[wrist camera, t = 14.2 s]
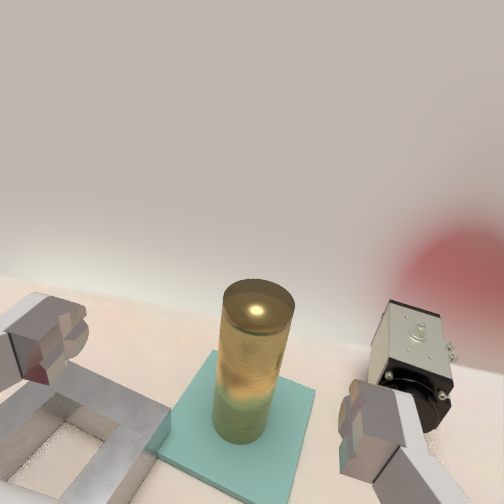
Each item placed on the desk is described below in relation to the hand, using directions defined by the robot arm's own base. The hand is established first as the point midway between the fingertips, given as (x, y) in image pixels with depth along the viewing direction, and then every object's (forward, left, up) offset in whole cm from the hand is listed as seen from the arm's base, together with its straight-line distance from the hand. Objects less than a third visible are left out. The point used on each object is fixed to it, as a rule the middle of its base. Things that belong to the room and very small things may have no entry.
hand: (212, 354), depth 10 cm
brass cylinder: (-2, +12, -21) cm, 24 cm away
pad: (-2, +12, -22) cm, 25 cm away
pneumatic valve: (+11, +19, -22) cm, 31 cm away
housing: (-13, +2, -22) cm, 25 cm away
